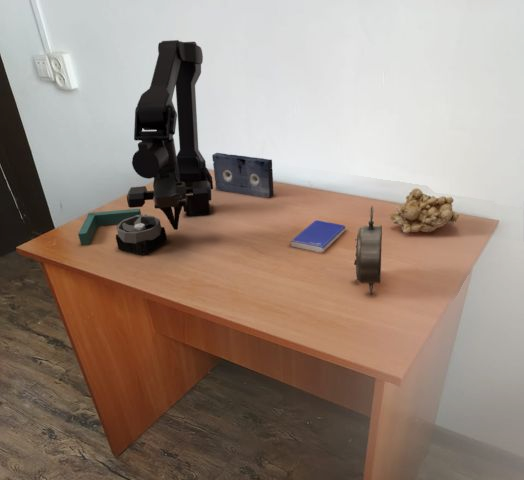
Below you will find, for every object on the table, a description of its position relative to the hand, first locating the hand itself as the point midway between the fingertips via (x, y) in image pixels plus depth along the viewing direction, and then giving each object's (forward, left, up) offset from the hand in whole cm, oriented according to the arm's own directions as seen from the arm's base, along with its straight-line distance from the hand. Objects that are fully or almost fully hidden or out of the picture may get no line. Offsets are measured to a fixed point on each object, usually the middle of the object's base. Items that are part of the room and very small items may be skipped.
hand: (176, 229), depth 119 cm
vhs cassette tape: (-18, -29, -4) cm, 34 cm away
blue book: (-34, +5, -4) cm, 34 cm away
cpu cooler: (+8, 0, -4) cm, 9 cm away
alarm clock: (-40, +27, -4) cm, 48 cm away
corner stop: (+17, -10, -3) cm, 20 cm away
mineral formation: (-59, +5, -4) cm, 59 cm away
